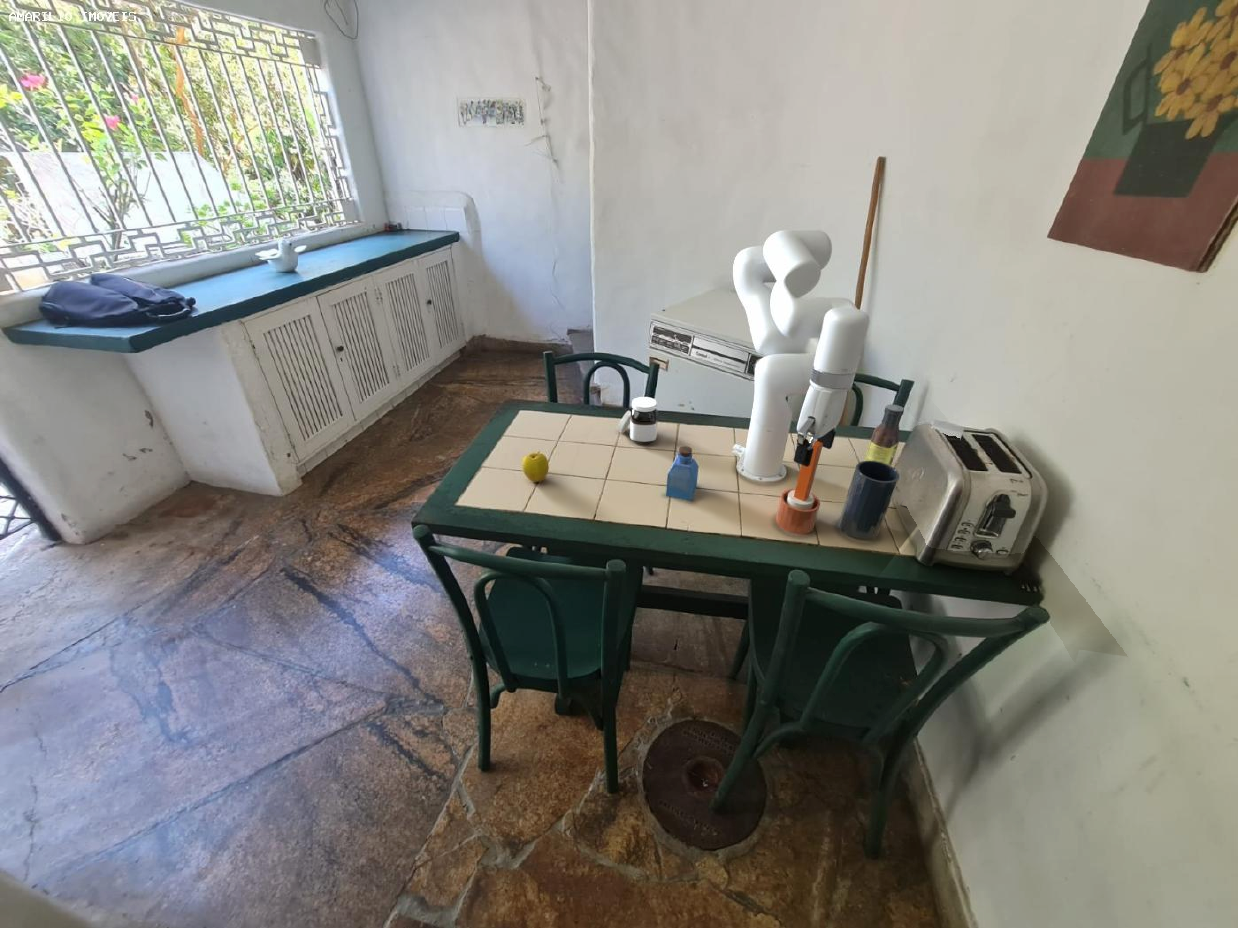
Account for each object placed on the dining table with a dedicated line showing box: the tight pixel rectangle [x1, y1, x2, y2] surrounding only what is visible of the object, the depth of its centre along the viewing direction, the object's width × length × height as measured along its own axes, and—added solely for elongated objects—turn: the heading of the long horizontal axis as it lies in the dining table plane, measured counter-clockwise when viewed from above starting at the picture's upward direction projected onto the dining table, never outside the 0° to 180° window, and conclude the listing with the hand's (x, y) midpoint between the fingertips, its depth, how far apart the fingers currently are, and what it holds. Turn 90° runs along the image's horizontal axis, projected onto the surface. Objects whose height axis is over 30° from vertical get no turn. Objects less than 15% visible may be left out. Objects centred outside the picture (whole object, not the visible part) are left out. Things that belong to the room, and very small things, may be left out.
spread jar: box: [616, 396, 659, 446], centre depth 145 cm, size 12×11×12 cm
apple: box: [521, 450, 550, 483], centre depth 127 cm, size 6×6×8 cm
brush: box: [786, 440, 823, 510], centre depth 109 cm, size 5×5×20 cm
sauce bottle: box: [863, 403, 905, 467], centre depth 126 cm, size 6×6×20 cm
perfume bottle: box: [665, 445, 700, 502], centre depth 122 cm, size 6×6×12 cm
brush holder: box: [775, 488, 821, 535], centre depth 113 cm, size 8×8×7 cm
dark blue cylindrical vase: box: [837, 460, 900, 542], centre depth 109 cm, size 8×8×16 cm
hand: (812, 454), depth 105 cm, fingers open, 9 cm apart
